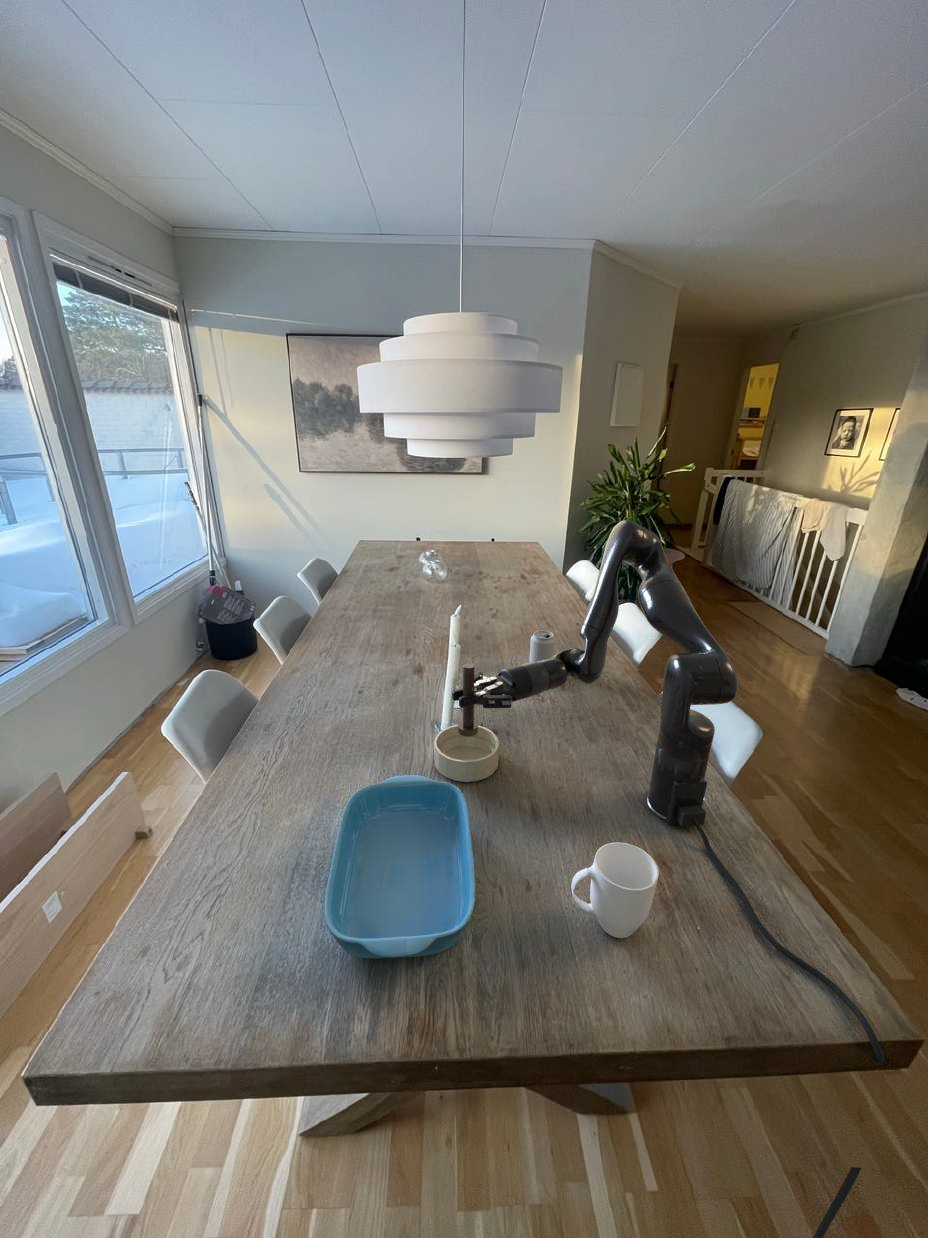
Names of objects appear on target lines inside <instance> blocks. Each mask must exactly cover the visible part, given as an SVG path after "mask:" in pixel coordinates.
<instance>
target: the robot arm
mask: <svg viewBox="0 0 928 1238" xmlns="http://www.w3.org/2000/svg"><path fill="white" fill-rule="evenodd" d="M623 562H624V563H626V564H628V565H629V566H631V567H632V568H634V569H635V570H636V571H637V573H638V574H639V576H640V578H641V580H642V581H641V583H640V584H639V586H638V592H637V599H638V603H639V605H640V608H641V611H642V612H643V614H644V617H645V619H646V621H647V622H648V623H649V625H650V626H651V627H652V628H653V629H654V630H655V631H657V632H658V633H659V634H661V635H662V636H663V637H665V638H666V639H668V640H670V641H671V642H673V643H674V644H676V645H677V646H678V647H680V648H681V649H682V650H683V651H684V652H677V653H674V654H672V655H671V656H670V657H669V658H668V660H667V661H666V664H665V668H664V674H663V684H662V694H661V701H660V723H659V730H658V735H657V740H656V746H655V753H654V759H653V765H652V770H651V776H650V782H649V788H648V794H647V797H646V805H647V808H648V810H649V811H650V812H651V813H652V814H653V815H654V816H656V817H658V818H659V819H660V820H663V821H664V822H666V823H667V824H668V826H675V825H680V827H681V828H683V827H684V828H685V827H692V826H695V828H696V831H697V832H698V833H699V834H700V837H701V840H702V842H703V844H704V848H705V849H706V852H707V853H708V855H709V856H710V858H711V859H712V861H713V863H714V864H715V865H716V867H717V868H718V869H719V870H720V872H721V873H722V874H723V875H724V876H725V878H726V879H727V881H728V882H729V884H731V885H732V887H733V888H734V890H735V891H736V893H737V894H738V896H739V897H740V899H741V901H742V903H743V904H744V907H745V908H746V910H747V912H748V915H749V917H750V918H751V919H752V922H753V923H754V924H755V926H756V927H757V929H758V930H759V931H760V933H761V934H762V935H763V937H764V938H765V939H766V940H767V941H768V942H769V943H770V944H771V945H772V946H773V947H774V948H775V949H776V950H778V952H780V953H781V954H782V955H783V956H785V957H786V958H788V959H789V960H790V961H792V962H793V963H795V964H796V965H798V966H800V967H801V968H803V969H804V970H806V971H807V972H808V973H810V974H811V975H813V976H814V977H815V978H817V979H818V980H820V981H821V982H822V983H823V984H825V986H827V987H828V988H829V989H830V990H832V992H833V993H834V994H835V995H837V997H838V998H839V999H840V1000H841V1001H842V1002H843V1003H844V1004H845V1005H846V1006H847V1008H848V1009H850V1011H851V1012H852V1013H853V1014H854V1016H855V1017H856V1018H857V1019H858V1021H859V1022H860V1024H861V1026H862V1027H863V1029H864V1032H865V1034H866V1035H867V1037H868V1040H869V1041H870V1044H871V1047H872V1049H873V1052H874V1053H875V1054H874V1055H875V1057H876V1059H877V1061H878V1062H880V1063H882V1064H885V1063H886V1059H885V1058H886V1057H885V1055H884V1052H883V1049H882V1047H881V1044H880V1041H879V1039H878V1037H877V1035H876V1033H875V1031H874V1029H873V1027H872V1026H871V1024H870V1023H869V1021H868V1020H867V1018H866V1016H865V1015H864V1014H863V1012H862V1011H861V1009H859V1008H858V1007H857V1005H856V1004H855V1003H854V1002H853V1001H852V1000H851V999H850V998H849V997H848V996H847V995H846V993H844V991H843V990H841V988H840V987H838V985H837V984H836V983H834V982H833V981H832V980H831V979H830V978H829V977H827V975H825V974H824V973H822V972H821V971H819V970H818V969H817V968H815V967H813V966H812V965H810V964H809V963H808V962H806V961H804V960H803V959H801V958H800V957H799V956H797V955H795V954H794V953H792V952H791V951H790V950H788V949H787V948H785V947H784V946H783V945H782V944H781V943H779V942H778V941H777V940H776V938H774V936H772V934H771V933H770V932H769V931H768V930H767V929H766V927H765V926H764V924H762V922H761V921H760V919H759V917H758V916H757V914H756V912H755V910H754V908H753V907H752V905H751V903H750V901H749V899H748V897H747V896H746V894H745V892H744V891H743V889H742V888H741V886H740V885H739V883H738V882H737V881H736V879H734V876H733V875H731V874H730V872H729V871H728V870H727V869H726V868H725V866H724V865H723V863H721V861H720V860H719V858H718V857H717V856H716V854H715V852H714V851H713V849H712V846H711V845H710V841H709V839H708V836H707V835H706V832H705V831H704V829H703V827H702V826H701V825H704V824H705V819H706V815H707V811H706V810H705V809H704V808H703V804H704V801H705V795H706V790H707V786H708V781H707V780H706V774H707V769H708V764H709V760H710V755H711V752H712V751H711V750H712V746H713V741H714V737H715V732H716V731H715V730H716V729H715V725H714V723H713V721H712V720H711V719H710V718H709V717H708V716H706V715H705V714H703V713H701V712H699V711H697V710H694V709H691V707H692V706H707V705H708V706H713V705H714V706H715V705H716V706H717V705H724V704H729V703H730V702H732V701H733V700H734V699H735V698H736V696H737V693H738V690H739V682H738V677H737V676H738V675H737V673H736V669H735V668H734V665H733V663H732V661H731V659H730V658H729V657H728V655H727V653H726V652H725V651H724V649H723V648H722V647H721V645H720V644H719V643H718V641H717V640H716V639H715V638H714V636H713V635H712V633H711V632H710V631H709V630H708V628H707V627H706V625H705V623H704V622H703V620H702V619H701V617H700V616H699V614H698V612H697V611H696V608H695V607H694V605H693V603H692V601H691V599H690V596H689V595H688V593H687V591H686V590H685V588H684V586H683V585H682V583H681V581H680V580H679V578H678V576H677V575H676V572H675V571H674V569H673V568H672V566H671V565H670V563H669V560H668V558H667V555H666V552H665V549H664V546H663V544H662V541H661V540H660V538H659V536H658V534H656V533H655V532H654V531H652V530H650V529H648V528H646V527H645V526H644V525H641V524H640V523H637V522H635V521H633V520H632V519H623V520H621V521H619V522H618V523H617V524H616V525H615V526H614V527H613V529H612V530H611V532H610V534H609V535H608V538H607V541H606V544H605V547H604V552H603V554H602V559H601V563H600V567H599V570H598V575H597V578H596V579H597V580H596V584H595V588H594V592H593V595H592V598H591V601H590V604H589V606H588V609H587V611H586V613H585V616H584V618H583V621H582V623H581V625H580V627H579V631H578V634H579V637H580V638H581V639H582V640H584V642H585V648H584V649H585V650H583V649H581V648H577V647H569V648H565V649H562V650H561V651H559V652H557V653H555V655H554V656H553V657H551V658H549V659H544V660H540V661H537V662H524V663H521V664H517V665H514V666H510V667H505V668H502V669H501V670H500V672H499V673H498V674H497V675H489V676H485V675H484V672H483V671H478V672H477V673H474V693H473V694H469V695H466V696H463V687H461V688H457V689H454V690H452V691H451V699H452V700H453V701H454V702H457V701H458V706H459V707H460V708H462V709H463V707H467V706H470V705H474V706H475V705H477V706H482V709H511V708H512V703H513V702H517V701H520V700H524V699H527V698H531V697H534V696H538V695H540V694H541V693H544V692H546V691H547V692H548V691H550V690H554V689H557V688H560V687H562V686H564V685H565V684H566V683H567V681H568V677H571V678H572V679H575V680H577V681H579V682H581V683H583V684H589V685H590V684H593V683H595V682H596V681H597V680H599V678H600V677H601V676H602V674H603V672H604V670H605V669H604V668H605V664H606V657H607V651H608V650H607V649H608V643H609V638H610V636H611V634H612V632H613V629H614V627H615V624H616V622H617V619H618V615H619V612H620V611H619V609H620V601H619V599H620V598H619V587H618V584H619V583H618V582H619V573H620V568H621V565H622V563H623ZM475 689H476V690H475ZM861 1170H862V1167H857V1166H856V1167H853V1166H850V1169H849V1171H848V1172H847V1175H846V1176H845V1178H844V1180H843V1182H842V1184H841V1185H840V1187H839V1189H838V1191H837V1193H836V1194H835V1197H834V1198H833V1200H832V1202H831V1204H830V1205H829V1207H828V1209H827V1210H826V1212H825V1214H824V1216H823V1218H822V1220H821V1221H820V1223H819V1225H818V1227H817V1229H816V1231H815V1232H814V1234H813V1237H812V1238H824V1237H825V1235H826V1233H827V1231H828V1230H829V1228H830V1227H831V1225H832V1223H833V1221H834V1219H835V1218H836V1216H837V1215H838V1212H839V1210H840V1209H841V1207H842V1205H843V1204H844V1203H845V1200H846V1199H847V1197H848V1196H849V1194H850V1191H851V1190H852V1188H853V1186H854V1184H855V1182H856V1181H857V1178H858V1177H859V1175H860V1173H861Z"/></svg>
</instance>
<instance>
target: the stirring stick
mask: <svg viewBox="0 0 928 1238" xmlns="http://www.w3.org/2000/svg"><path fill="white" fill-rule="evenodd" d="M475 669H476V667H475V664H474V663H472V662H467V663H464V664H463V665H462V688H463V696H466V695H469V694H473V693H474V691H475V689H474V675H475ZM457 725H458V732H459V734H460V735H462V736H466V737H471V736H474V735H476V734H477V733H478V726H479V723H478V722H477V721H475V704H474V705H470V706H467V707H462V720H461V721H460V722H459V723H457Z"/></svg>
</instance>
